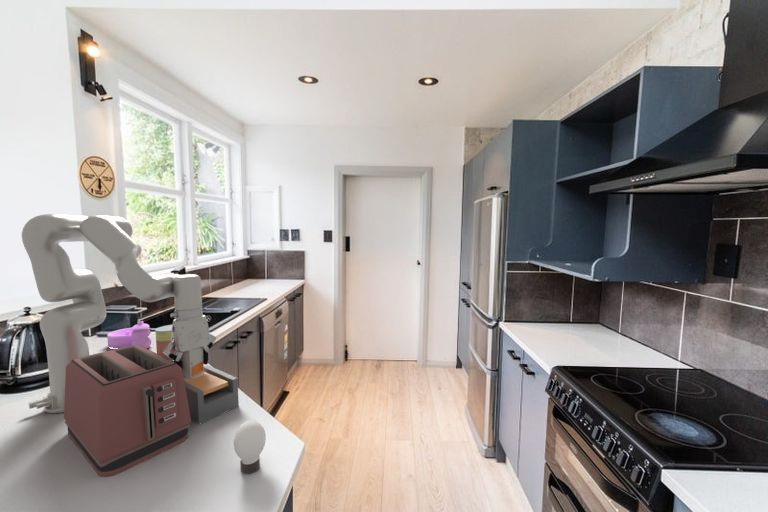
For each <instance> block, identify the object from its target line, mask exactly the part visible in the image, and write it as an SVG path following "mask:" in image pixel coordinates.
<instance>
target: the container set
mask: <svg viewBox="0 0 768 512" xmlns="http://www.w3.org/2000/svg"><path fill="white" fill-rule="evenodd" d="M150 334H151V329H150V324H148V323H144V320H138V321H137V324H135V325H133V326H132V327H126V328H122V329H121V328H120V329H117V330H113V331H111V332H108V333H107V334H106V337H107V347H108V346H109V347H113V348H122V347H127V346H131V345H135V344H138V345H140V346H142V347H144V348H146V349H147V348H148V349H149V348H150V347H151V345H152V339H151V338H150V337H149V336H150Z"/></svg>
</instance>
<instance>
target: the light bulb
mask: <svg viewBox="0 0 768 512" xmlns="http://www.w3.org/2000/svg"><path fill="white" fill-rule="evenodd" d="M265 446H266V430H265V428H264V426H263V424H262V423H261V422H259V421H258V420H255V419H249V420H246V421H244V422H243V423H242V424H241V425H239V426H238V427H237V430H236V431H235V434H234V438H233V447H234V448H233V449H234V452H235V453H236V456H237V457H238V458H239V459H240V464H239V465H240V472H241V473H242V474H253V473H256V472H257V471H258V470H260V468H261V467H260V465H261V461H260V460H261V458H260V455H261V453H262V452H263V450H264V447H265Z"/></svg>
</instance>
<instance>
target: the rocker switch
mask: <svg viewBox="0 0 768 512" xmlns="http://www.w3.org/2000/svg"><path fill="white" fill-rule="evenodd" d="M184 381H185V382H187V383H189V384H191V385H192V386H194V387H196V388H198V389H200V390H202V391H203V394H204V395H206V394H208V393H211V392H213V391H216V390H219V389H221V388H224V387H226V386H228V381H225V380H223V379H220V378H218V377H216V376H213V375H211V374H208V373H206V372H202V373H200V374H198V375H196V376H195V377H193V378H191V379H185V378H184Z"/></svg>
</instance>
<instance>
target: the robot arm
mask: <svg viewBox="0 0 768 512" xmlns="http://www.w3.org/2000/svg"><path fill="white" fill-rule="evenodd" d="M132 235H133V226H132V225H131V223H130V222H129V221H128V220H126V219H125V218H123V217H121V216H117V215H116V216H115V215H114V216H113V215H112V216H111V215H98V214H97V215H76V214H75V215H73V214H61V213H60V214H59V213H48V214H40V215H36V216H33V217H31V218H30V219H29V220H28V221H27V222H26V223H25V224H24V226H23V227H22V231H21V241H22V244H23V247H24V249H25V251H26V253H27V255H28V258H29V261H30V263H31V268H32V272H33V275H34V280H35V283H36V288H37V291H38V294H39V296H40V298H41V299H42V300H44V301H45V302H48V303H61V302H66V301H70V300H72V303H69V304H63V305H61V306H57V307H54V308H51V309H50V310H48V311H47V312H45V313H44V314H43V315H42V316H41V318H40V320H39V328H40V331H41V334H42V337H43V339H44V342H45V343H44V344H45V349H46V358H47V366H48V367H47V368H48V379H49V391H50V392H48V393H46V394H47V395H46V396H44V397H43V398H42V399H38V400H33V401H30V402H28V408H29V410H31V409H34V408H36V409H37V410H38V409H41V408H44V412H45V413H47V414H61V413H64V404H65V377H66V366H67V365H68V364H69V363H70V362H71V360H72V359H75V358H80V357H84V356H88V355H90V348H89V343H88V341H87V339H86V338H85V337H84V336H83V334H82V332H84V331H87V330H90V329H93V328H95V327H97V326H99V325H101V324H103V323H104V321H105V320H106V318H107V307H106V301H105V300H104V299H105V298H104V294H103V291H102V287H101V283H100V279H99V277H98V276H97V275H96V274H95V273H94V272H92V271H91V270H88V269H86V268H85V269H83V268H78V269H77V268H75V269H73V267H72V264H71V260H70V256H69V255H68V253H67V252H66V250H65V249H64V248H63V247H62V246H61V245H60V243H62V242H63V243H67V242H71V243H72V242H74V243H76V242H89V243H91V244H92V245H93V246H94V247H95V248H96V249H97V250H98V251H100V252H101V254H102V255H104V256H105V257H106V258H108V260H110V261H111V262H112V263H113V264H114V266H115V267H114V268H115V274H116V275H117V278H118V280H119V282H120V284H121V285H122V286H123V287H124V288H125V289H126V290H127V291H129V292H130V293H131V294H132V295H133V296H134V297H135V298H137V299H139V300H140V301H143V302H146V303H154V302H158V301H161V300H165V299H168V298H171V297H173V298H174V310H173V312H170V315H169V316H170V318H174V319H173V320H172V324H171V325H172V334H171V342H170V343H169V344H168V345H167V346H166V347H165V348H164V349H163V350H162V352H163V353H164V354H165V355H167V356H168V357H170V358H169V359H171V360H172V361H173V362H175V363H176V364H177V365H178V366H180V367H181V368H182V370H183V366H182V360H180V358H181V356H182V354H183V352H187V351H189V350H194V349H198V348H201V347H203V359H204V366H207V365H209V362H208V361H209V352H210V351H211V350H210V349H211V348H212V347H213V345H214V344H215V342H216V340H217V337H216V336H215V335H213V334H211V333H210V328H209V324H208V323H209V322H208V320H207V319H208V318H207V317H206V315H205V314H203V297H202V296H203V295H202V280H201V276H200V275H197V274H191V273H190V274H176V273H175V274H173V273H165V274H159V275H154V276H151V275H150V274H149V273H148V272H147V271H146V270H144V269H143V268H142V266H141V265H139V263H138V260H137V258H139V256H140V255H141V253H142V246H141V245H140V244H138V243H137V242H136V241H135V240H134V239H133V238H132ZM189 342H190V346H189ZM171 349H173V350H175V352H174V354H172V353H171V352H170V350H171Z"/></svg>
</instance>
